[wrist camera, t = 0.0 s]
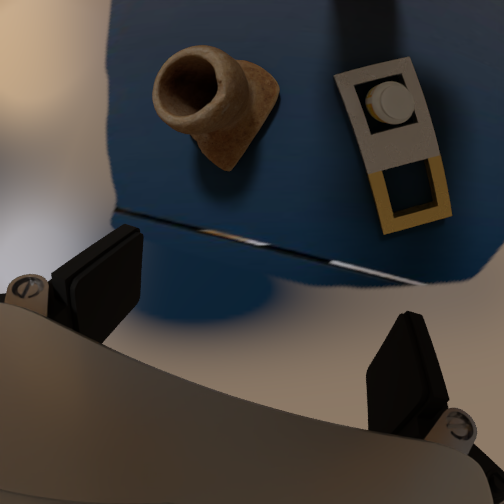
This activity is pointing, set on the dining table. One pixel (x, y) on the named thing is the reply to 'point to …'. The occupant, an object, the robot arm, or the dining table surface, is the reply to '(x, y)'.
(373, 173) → the holder
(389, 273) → the dining table surface
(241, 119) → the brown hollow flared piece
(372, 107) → the supplement bottle
